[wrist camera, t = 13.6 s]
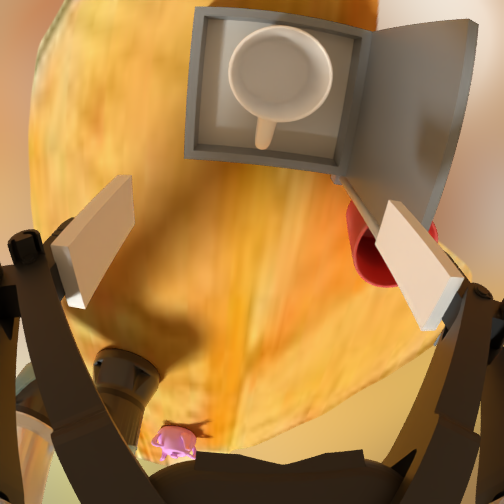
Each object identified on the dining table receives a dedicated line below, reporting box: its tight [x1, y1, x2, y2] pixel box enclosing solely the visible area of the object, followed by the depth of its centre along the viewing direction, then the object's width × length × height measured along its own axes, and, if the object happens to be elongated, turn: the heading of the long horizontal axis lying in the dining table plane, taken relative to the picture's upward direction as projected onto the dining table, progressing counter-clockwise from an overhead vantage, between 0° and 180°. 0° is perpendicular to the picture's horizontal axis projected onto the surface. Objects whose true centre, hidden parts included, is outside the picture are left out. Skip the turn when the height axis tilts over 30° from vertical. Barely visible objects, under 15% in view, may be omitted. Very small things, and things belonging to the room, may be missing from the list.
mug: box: [228, 25, 333, 150], centre depth 27 cm, size 12×8×10 cm
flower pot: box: [346, 200, 438, 288], centre depth 37 cm, size 11×11×10 cm
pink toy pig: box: [151, 426, 196, 461], centre depth 77 cm, size 12×14×9 cm
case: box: [184, 7, 479, 239], centre depth 24 cm, size 19×19×21 cm
